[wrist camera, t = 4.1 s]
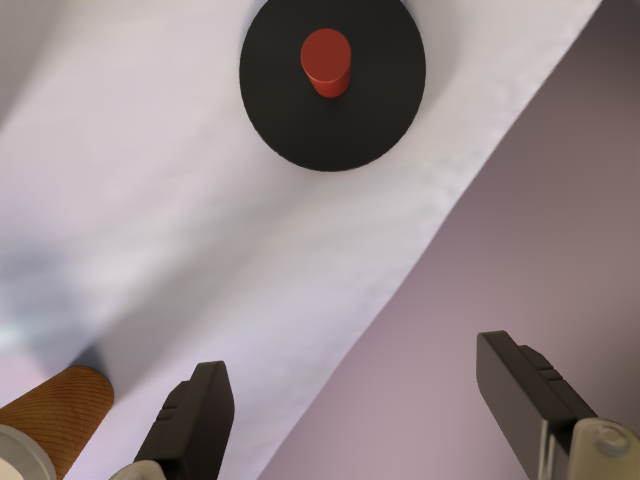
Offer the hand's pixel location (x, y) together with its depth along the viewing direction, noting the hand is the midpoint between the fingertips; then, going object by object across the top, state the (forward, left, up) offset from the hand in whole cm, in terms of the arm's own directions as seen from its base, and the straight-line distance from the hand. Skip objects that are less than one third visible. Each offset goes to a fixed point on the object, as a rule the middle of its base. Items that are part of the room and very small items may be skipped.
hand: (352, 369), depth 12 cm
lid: (+6, +10, -22) cm, 25 cm away
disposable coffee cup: (-33, +3, -23) cm, 40 cm away
